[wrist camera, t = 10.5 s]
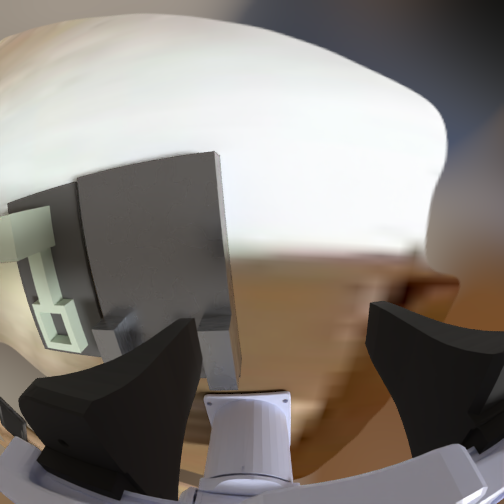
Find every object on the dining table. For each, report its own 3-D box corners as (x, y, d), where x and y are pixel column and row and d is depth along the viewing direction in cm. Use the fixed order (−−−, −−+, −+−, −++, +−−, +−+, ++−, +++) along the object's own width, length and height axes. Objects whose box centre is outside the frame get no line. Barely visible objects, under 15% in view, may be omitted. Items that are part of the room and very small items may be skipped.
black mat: (115, 356, 22) (114, 358, 22) (47, 347, 23) (45, 348, 22) (76, 182, 18) (73, 182, 18) (10, 203, 19) (7, 203, 18)
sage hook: (88, 344, 22) (62, 374, 17) (55, 340, 22) (29, 365, 17) (54, 204, 18) (14, 212, 13) (22, 212, 18) (-15, 222, 14)
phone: (1, 424, 30) (-5, 397, 26) (3, 422, 31) (-2, 393, 27) (26, 447, 31) (24, 425, 27) (28, 444, 32) (26, 421, 28)
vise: (241, 358, 22) (237, 414, 15) (133, 357, 22) (105, 403, 16) (219, 155, 18) (201, 141, 12) (95, 177, 18) (40, 179, 12)
